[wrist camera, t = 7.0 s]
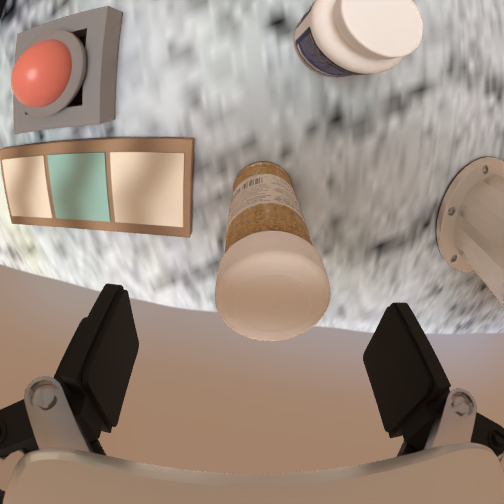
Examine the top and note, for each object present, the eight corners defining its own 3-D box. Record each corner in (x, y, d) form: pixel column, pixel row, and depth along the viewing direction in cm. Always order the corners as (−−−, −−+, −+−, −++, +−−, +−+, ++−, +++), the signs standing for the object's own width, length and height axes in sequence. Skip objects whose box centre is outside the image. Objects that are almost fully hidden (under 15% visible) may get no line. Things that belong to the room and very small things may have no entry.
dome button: (104, 25, 15) (64, 15, 10) (98, 107, 18) (57, 118, 13) (38, 42, 14) (-6, 42, 10) (35, 116, 18) (-8, 130, 13)
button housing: (122, 12, 15) (108, 5, 13) (114, 119, 19) (99, 124, 17) (35, 34, 14) (17, 33, 12) (32, 127, 19) (14, 134, 17)
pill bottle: (363, 82, 18) (434, 86, 10) (291, 72, 18) (321, 60, 10) (366, 19, 15) (434, -12, 7) (294, 6, 15) (324, -46, 7)
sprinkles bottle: (246, 222, 24) (240, 355, 13) (224, 171, 22) (192, 277, 10) (299, 204, 23) (341, 328, 12) (281, 151, 21) (317, 238, 10)
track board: (194, 138, 21) (191, 140, 20) (191, 233, 25) (189, 238, 24) (4, 147, 20) (-3, 150, 19) (16, 220, 24) (10, 224, 23)
